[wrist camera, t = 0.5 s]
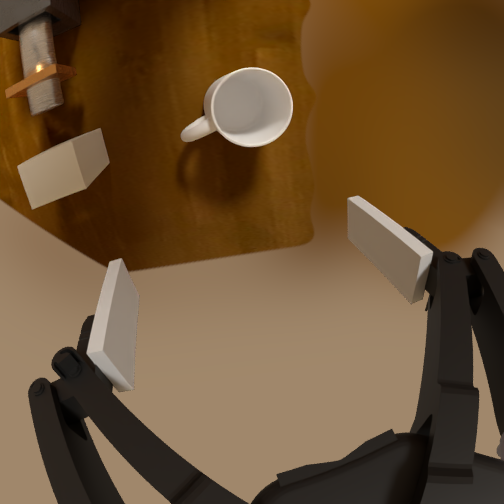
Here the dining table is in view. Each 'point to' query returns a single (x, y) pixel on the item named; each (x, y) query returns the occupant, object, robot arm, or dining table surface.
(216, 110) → the mug
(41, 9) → the sleeve
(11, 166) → the dining table surface
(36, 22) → the tube
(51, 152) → the socket block
